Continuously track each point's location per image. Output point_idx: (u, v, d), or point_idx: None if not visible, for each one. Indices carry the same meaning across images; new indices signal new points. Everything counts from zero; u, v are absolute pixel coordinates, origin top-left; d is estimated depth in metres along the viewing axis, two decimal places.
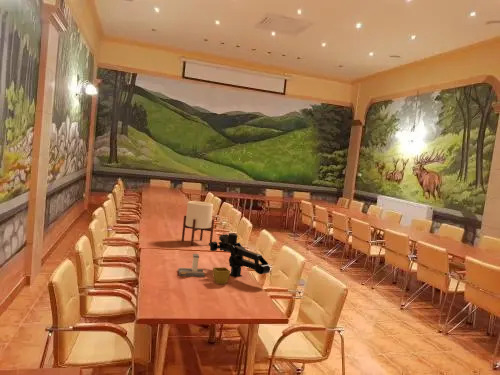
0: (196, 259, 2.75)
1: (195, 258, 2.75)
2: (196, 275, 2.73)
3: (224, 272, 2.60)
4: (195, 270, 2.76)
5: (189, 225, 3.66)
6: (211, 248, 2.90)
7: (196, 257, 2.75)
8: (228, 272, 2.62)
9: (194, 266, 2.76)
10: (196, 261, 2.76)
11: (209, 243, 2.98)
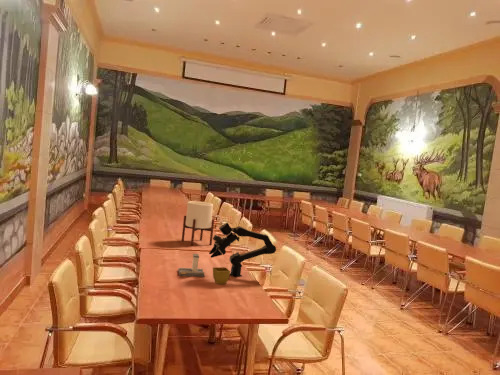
0: (196, 259, 2.75)
1: (195, 258, 2.75)
2: (196, 275, 2.73)
3: (224, 272, 2.60)
4: (195, 270, 2.76)
5: (189, 225, 3.66)
6: (223, 251, 2.73)
7: (196, 257, 2.75)
8: (228, 272, 2.62)
9: (194, 266, 2.76)
10: (196, 261, 2.76)
11: (212, 255, 2.76)
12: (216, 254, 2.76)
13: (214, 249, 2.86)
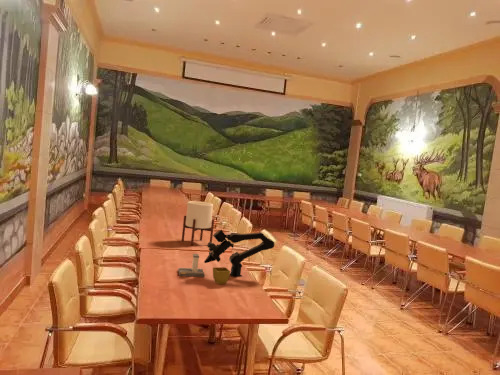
0: (196, 259, 2.75)
1: (195, 258, 2.75)
2: (196, 275, 2.73)
3: (224, 272, 2.60)
4: (195, 270, 2.76)
5: (189, 225, 3.66)
6: (218, 258, 2.72)
7: (196, 257, 2.75)
8: (228, 272, 2.62)
9: (194, 266, 2.76)
10: (196, 261, 2.76)
11: (205, 261, 2.79)
12: (210, 259, 2.79)
13: None
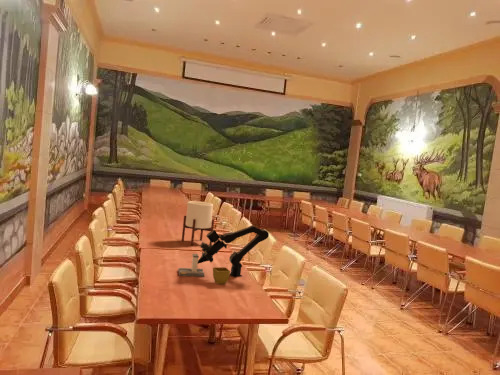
0: (196, 259, 2.75)
1: (195, 258, 2.75)
2: (196, 275, 2.73)
3: (224, 272, 2.60)
4: (195, 270, 2.76)
5: (189, 225, 3.66)
6: (210, 259, 2.71)
7: (196, 257, 2.75)
8: (228, 272, 2.62)
9: (194, 266, 2.75)
10: (196, 261, 2.75)
11: (198, 261, 2.78)
12: (203, 260, 2.78)
13: None
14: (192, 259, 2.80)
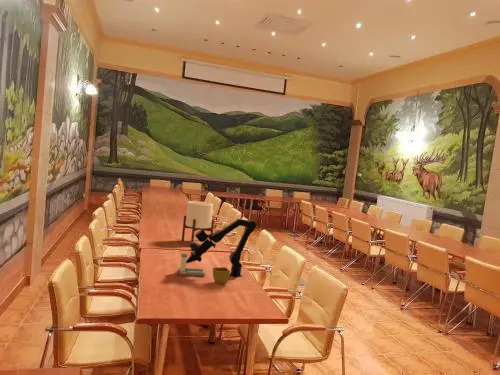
0: (184, 259, 2.74)
1: (183, 257, 2.73)
2: (196, 275, 2.73)
3: (224, 272, 2.60)
4: (183, 269, 2.74)
5: (189, 225, 3.66)
6: (199, 259, 2.69)
7: (184, 256, 2.73)
8: (228, 272, 2.62)
9: (182, 265, 2.74)
10: (184, 260, 2.74)
11: (187, 261, 2.76)
12: (191, 260, 2.76)
13: None
14: (181, 258, 2.78)
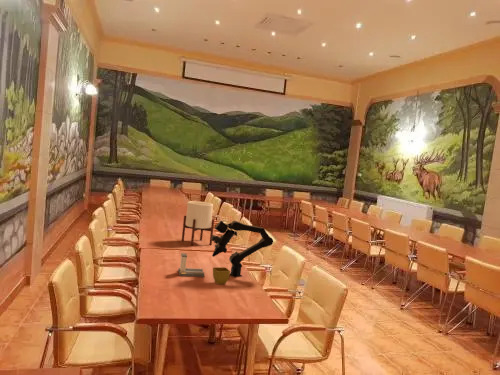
0: (184, 259, 2.74)
1: (183, 257, 2.73)
2: (196, 275, 2.73)
3: (224, 272, 2.60)
4: (183, 269, 2.74)
5: (189, 225, 3.66)
6: (224, 250, 2.73)
7: (184, 256, 2.73)
8: (228, 272, 2.62)
9: (182, 265, 2.74)
10: (184, 260, 2.74)
11: (213, 254, 2.80)
12: (217, 252, 2.80)
13: None
14: (181, 258, 2.78)
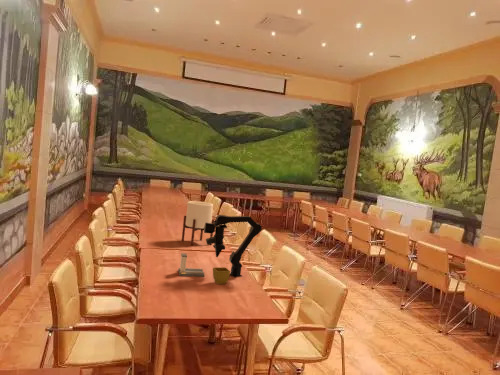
0: (184, 259, 2.74)
1: (183, 257, 2.73)
2: (196, 275, 2.73)
3: (224, 272, 2.60)
4: (183, 269, 2.74)
5: (189, 225, 3.66)
6: (222, 247, 2.72)
7: (184, 256, 2.73)
8: (228, 272, 2.62)
9: (182, 265, 2.74)
10: (184, 260, 2.74)
11: (216, 255, 2.81)
12: (218, 251, 2.80)
13: None
14: (181, 258, 2.78)
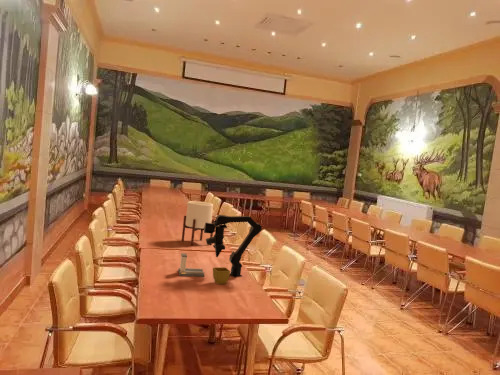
0: (184, 259, 2.74)
1: (183, 257, 2.73)
2: (196, 275, 2.73)
3: (224, 272, 2.60)
4: (183, 269, 2.74)
5: (189, 225, 3.66)
6: (222, 247, 2.72)
7: (184, 256, 2.73)
8: (228, 272, 2.62)
9: (182, 265, 2.74)
10: (184, 260, 2.74)
11: (216, 255, 2.81)
12: (218, 251, 2.80)
13: None
14: (181, 258, 2.78)
